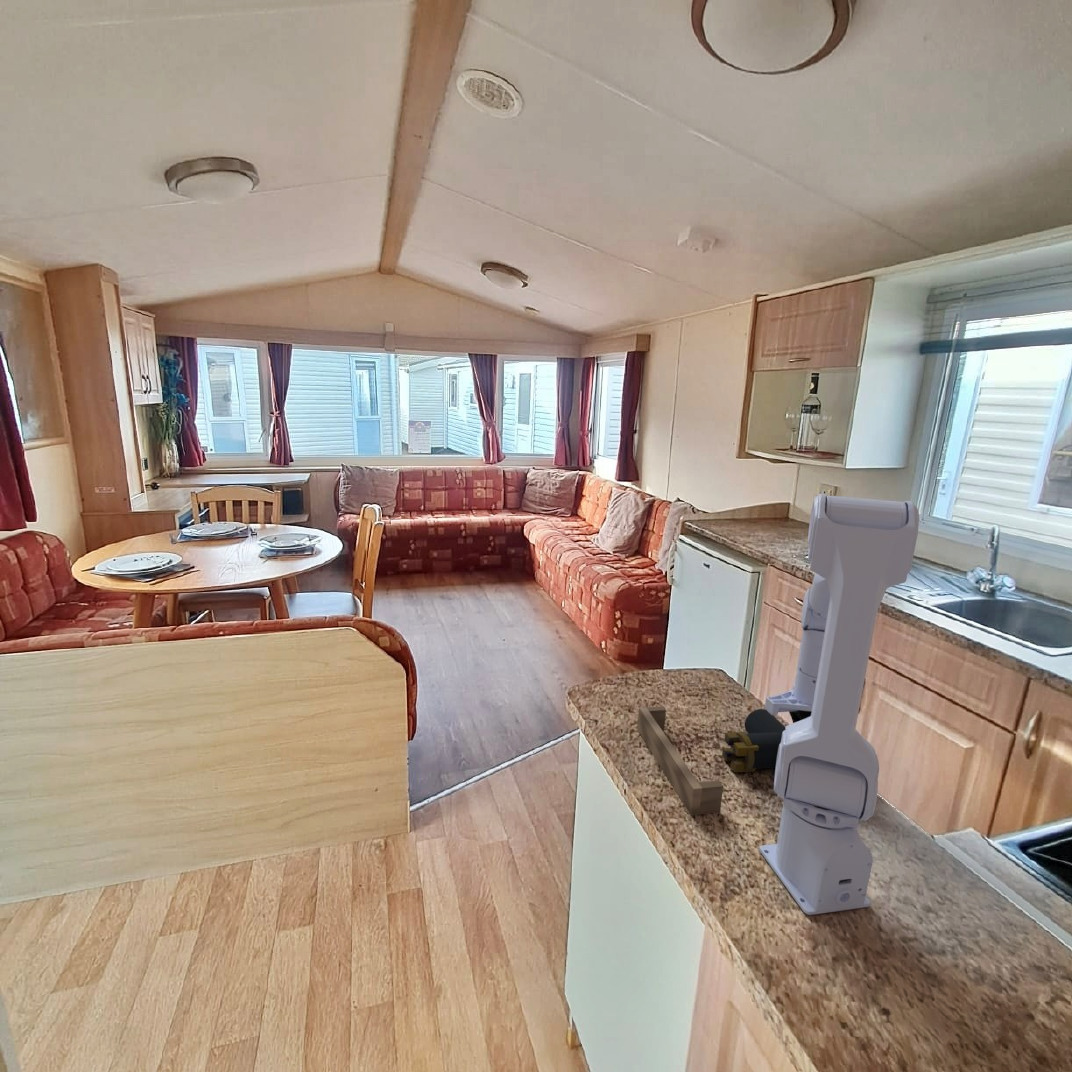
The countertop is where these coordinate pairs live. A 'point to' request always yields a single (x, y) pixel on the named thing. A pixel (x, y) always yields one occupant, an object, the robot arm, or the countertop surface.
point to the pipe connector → (754, 743)
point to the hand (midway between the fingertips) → (804, 751)
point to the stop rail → (677, 765)
